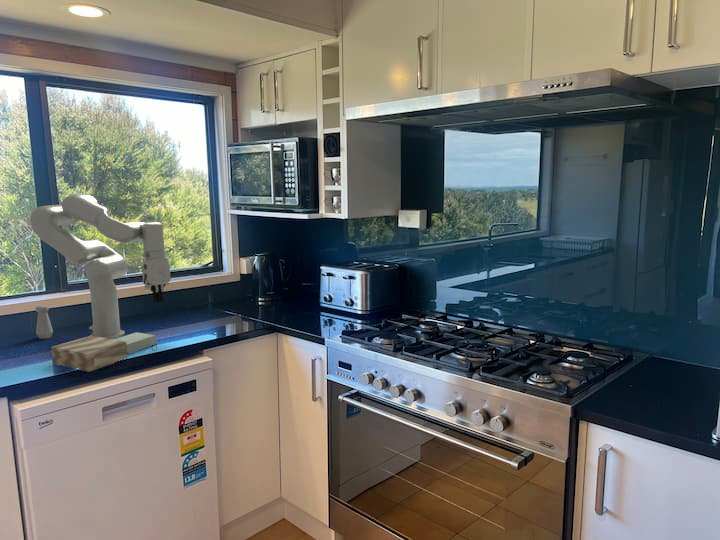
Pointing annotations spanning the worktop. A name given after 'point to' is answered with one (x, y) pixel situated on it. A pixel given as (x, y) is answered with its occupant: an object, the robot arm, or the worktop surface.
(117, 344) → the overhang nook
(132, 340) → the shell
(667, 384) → the worktop surface
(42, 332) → the salt shaker
